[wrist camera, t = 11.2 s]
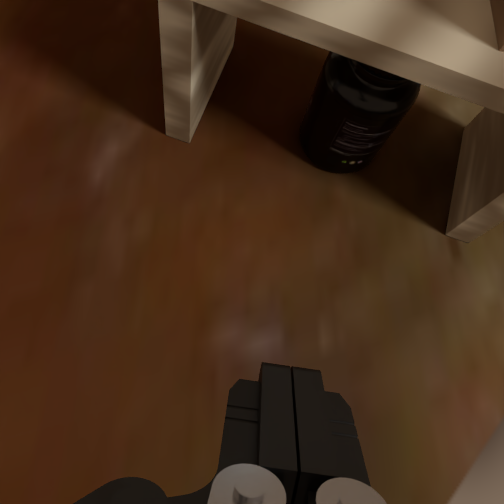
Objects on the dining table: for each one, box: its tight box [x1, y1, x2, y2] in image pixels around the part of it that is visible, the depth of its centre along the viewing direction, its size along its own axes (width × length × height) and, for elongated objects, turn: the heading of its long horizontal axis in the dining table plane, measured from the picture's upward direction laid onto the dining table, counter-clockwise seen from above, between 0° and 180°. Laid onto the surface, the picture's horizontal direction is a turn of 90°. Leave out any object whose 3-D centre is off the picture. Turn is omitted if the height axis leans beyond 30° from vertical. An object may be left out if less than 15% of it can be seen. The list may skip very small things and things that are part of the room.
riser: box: [158, 0, 504, 243], centre depth 33 cm, size 26×11×15 cm, turn 72°
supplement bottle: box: [300, 51, 421, 174], centre depth 34 cm, size 7×7×12 cm
